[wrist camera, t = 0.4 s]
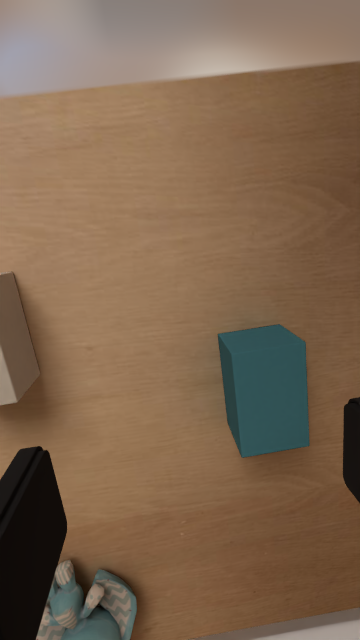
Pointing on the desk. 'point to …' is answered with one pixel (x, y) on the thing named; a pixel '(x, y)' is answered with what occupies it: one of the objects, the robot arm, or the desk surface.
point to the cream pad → (14, 345)
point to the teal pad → (265, 389)
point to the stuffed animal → (87, 608)
